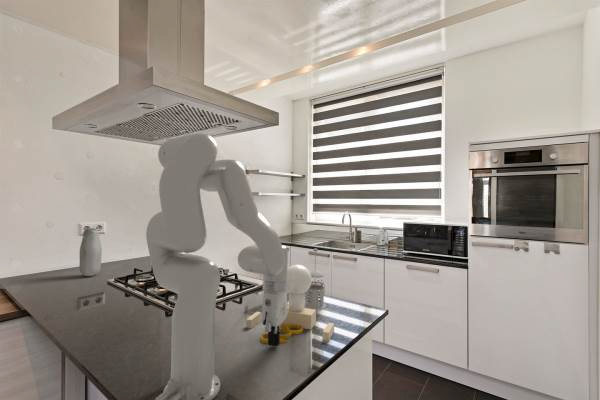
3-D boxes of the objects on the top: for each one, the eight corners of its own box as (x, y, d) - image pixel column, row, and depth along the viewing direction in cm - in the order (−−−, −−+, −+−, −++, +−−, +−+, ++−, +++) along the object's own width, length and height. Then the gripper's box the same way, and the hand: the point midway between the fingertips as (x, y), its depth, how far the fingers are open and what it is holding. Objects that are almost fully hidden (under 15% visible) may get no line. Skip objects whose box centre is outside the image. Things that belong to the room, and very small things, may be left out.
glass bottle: (84, 274, 177) (85, 227, 177) (103, 273, 179) (104, 227, 179) (75, 278, 167) (77, 228, 167) (96, 277, 170) (97, 228, 170)
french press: (318, 301, 136) (319, 246, 136) (332, 309, 126) (333, 250, 126) (299, 304, 132) (300, 247, 132) (312, 312, 121) (313, 251, 122)
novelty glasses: (310, 334, 102) (291, 325, 110) (310, 329, 102) (292, 320, 110) (271, 349, 92) (253, 338, 99) (271, 344, 92) (253, 333, 99)
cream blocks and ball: (328, 341, 96) (329, 275, 96) (246, 327, 106) (247, 267, 106) (339, 322, 112) (339, 265, 112) (266, 311, 121) (267, 259, 122)
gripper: (276, 293, 84) (275, 358, 84) (294, 280, 98) (293, 336, 98) (252, 290, 86) (251, 354, 86) (273, 278, 100) (272, 333, 100)
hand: (273, 344), depth 92 cm, fingers closed
